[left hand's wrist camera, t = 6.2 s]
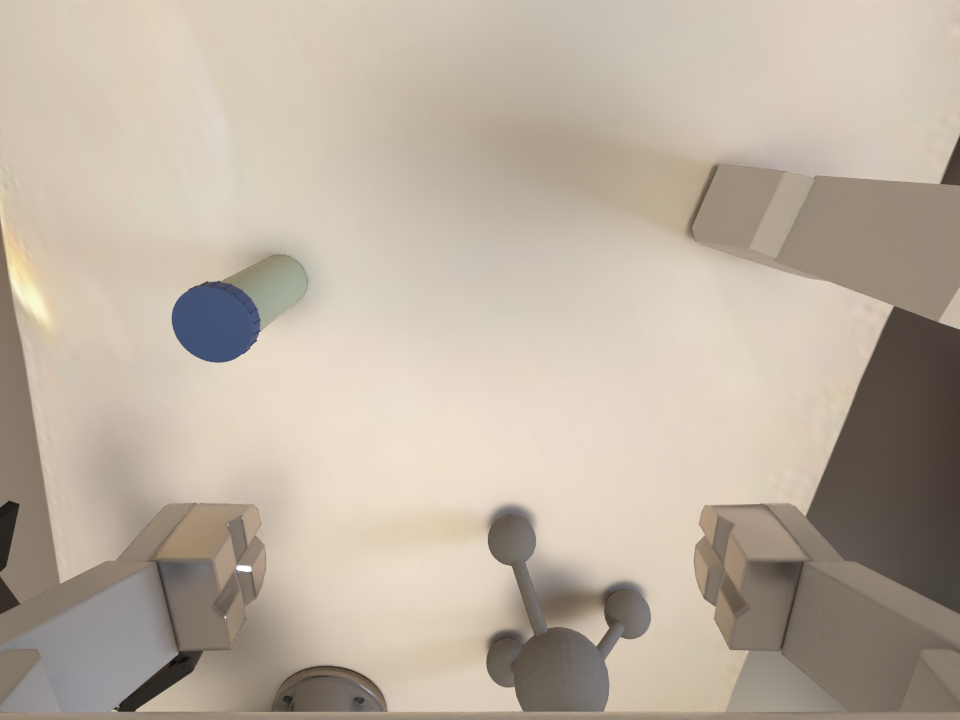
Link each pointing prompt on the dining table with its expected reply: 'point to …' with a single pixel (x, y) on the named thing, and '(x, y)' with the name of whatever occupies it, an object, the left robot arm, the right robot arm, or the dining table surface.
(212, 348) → the lid
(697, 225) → the electronic device
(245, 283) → the jar
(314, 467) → the dining table surface
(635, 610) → the molecular model
